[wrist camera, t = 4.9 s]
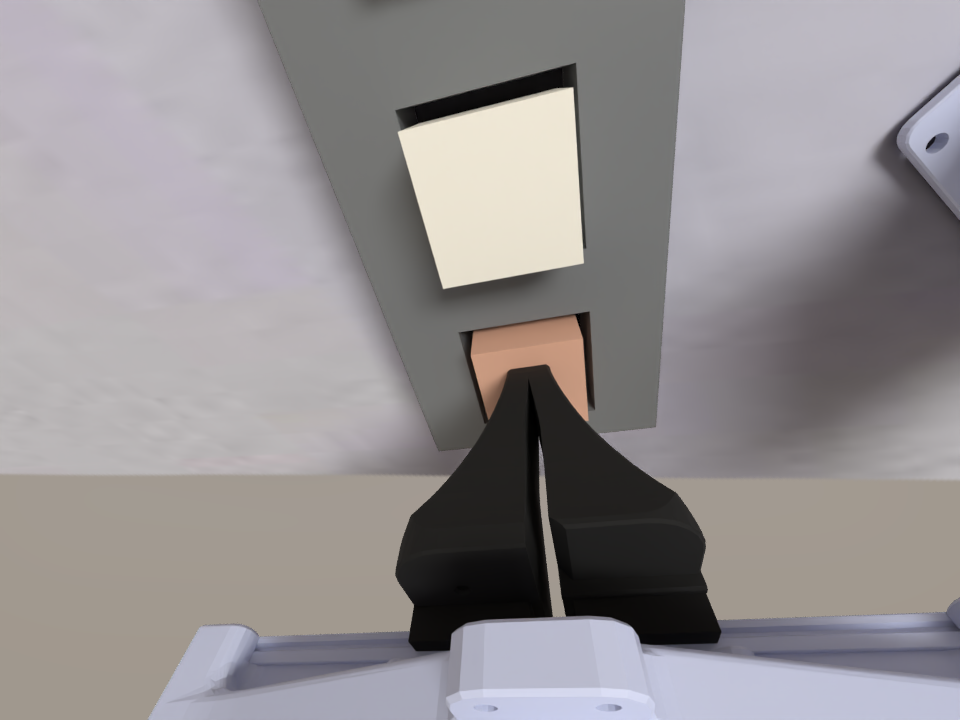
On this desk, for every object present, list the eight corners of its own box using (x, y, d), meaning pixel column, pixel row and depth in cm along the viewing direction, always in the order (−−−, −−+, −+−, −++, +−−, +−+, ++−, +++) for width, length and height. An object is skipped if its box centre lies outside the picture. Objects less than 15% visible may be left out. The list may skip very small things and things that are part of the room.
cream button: (566, 227, 12) (583, 263, 9) (454, 249, 12) (442, 289, 10) (555, 88, 10) (573, 87, 7) (422, 122, 10) (397, 132, 8)
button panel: (637, 387, 17) (655, 427, 15) (445, 411, 19) (438, 451, 17) (665, -578, 6) (748, -917, 4) (180, -332, 7) (59, -493, 5)
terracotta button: (575, 371, 16) (588, 420, 14) (493, 382, 17) (491, 432, 14) (568, 296, 14) (582, 338, 12) (475, 311, 15) (470, 355, 12)
